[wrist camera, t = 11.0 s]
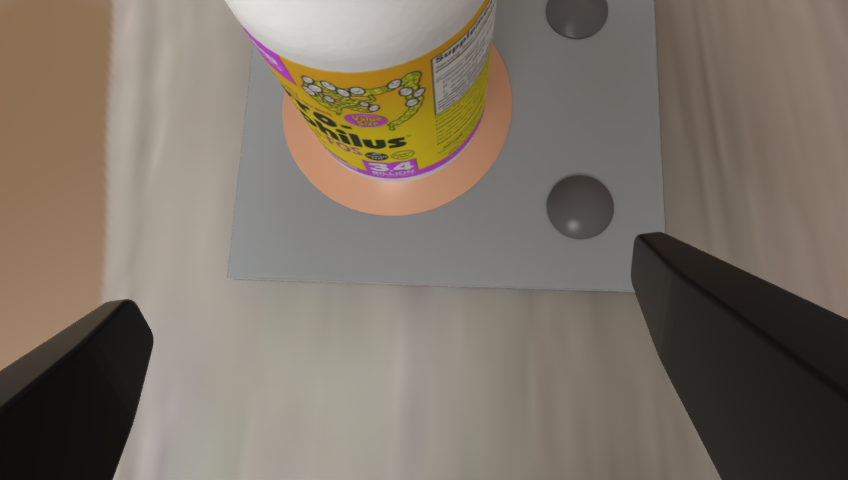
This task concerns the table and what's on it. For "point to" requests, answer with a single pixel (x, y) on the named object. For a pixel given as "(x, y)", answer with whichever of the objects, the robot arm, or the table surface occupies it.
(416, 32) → the supplement bottle
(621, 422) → the table surface
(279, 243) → the plate
